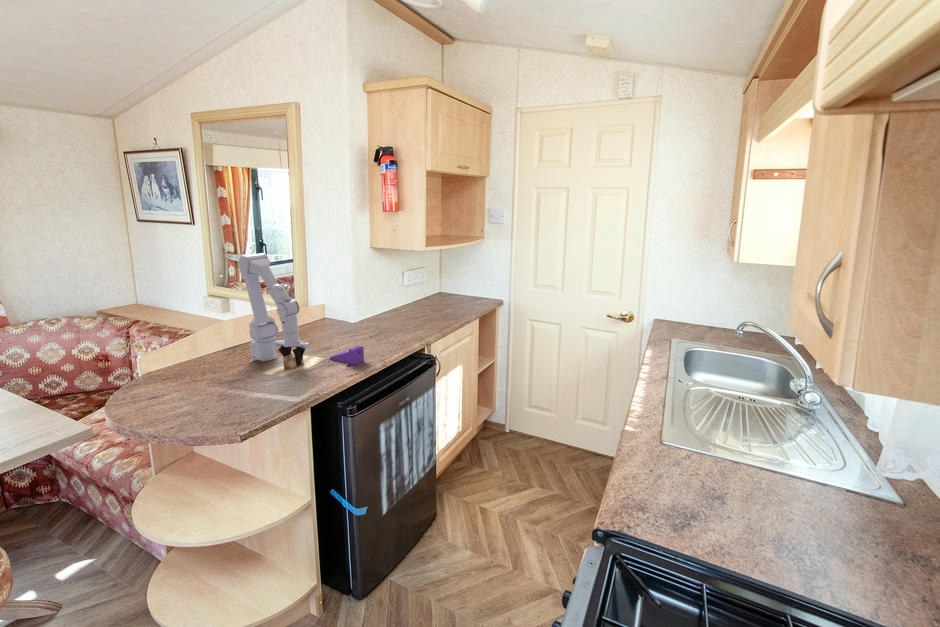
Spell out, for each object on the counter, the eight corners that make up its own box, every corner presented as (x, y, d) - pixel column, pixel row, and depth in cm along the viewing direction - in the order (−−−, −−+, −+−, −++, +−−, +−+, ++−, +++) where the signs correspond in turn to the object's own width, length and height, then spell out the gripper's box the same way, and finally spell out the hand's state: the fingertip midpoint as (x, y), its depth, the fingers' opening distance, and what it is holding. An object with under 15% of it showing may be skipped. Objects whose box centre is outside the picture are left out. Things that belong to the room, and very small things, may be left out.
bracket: (363, 361, 198) (363, 345, 196) (352, 366, 192) (352, 350, 190) (341, 355, 203) (340, 340, 201) (329, 360, 197) (329, 344, 195)
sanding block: (284, 368, 187) (282, 357, 186) (295, 362, 193) (294, 351, 192) (292, 369, 186) (291, 358, 184) (303, 363, 192) (302, 352, 191)
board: (261, 376, 182) (261, 373, 182) (297, 357, 202) (297, 355, 202) (293, 380, 178) (293, 377, 178) (326, 360, 199) (326, 357, 198)
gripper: (267, 332, 184) (271, 366, 188) (300, 335, 180) (303, 369, 184) (279, 328, 191) (283, 360, 194) (311, 330, 187) (314, 363, 190)
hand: (294, 364), depth 189 cm, fingers closed on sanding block, 4 cm apart
